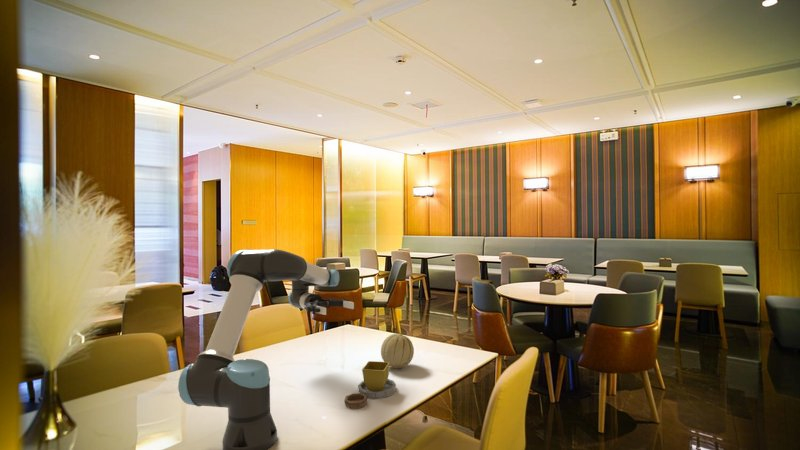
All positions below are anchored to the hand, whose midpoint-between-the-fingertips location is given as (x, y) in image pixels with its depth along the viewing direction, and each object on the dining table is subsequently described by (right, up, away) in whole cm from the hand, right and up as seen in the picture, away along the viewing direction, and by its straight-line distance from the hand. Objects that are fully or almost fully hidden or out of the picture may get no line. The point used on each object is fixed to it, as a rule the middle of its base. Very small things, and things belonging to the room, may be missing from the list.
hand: (339, 308), depth 160 cm
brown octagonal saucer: (+9, -30, -20) cm, 37 cm away
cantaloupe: (+24, -30, +15) cm, 41 cm away
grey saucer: (+16, -30, -9) cm, 35 cm away
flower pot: (+16, -29, -9) cm, 34 cm away
